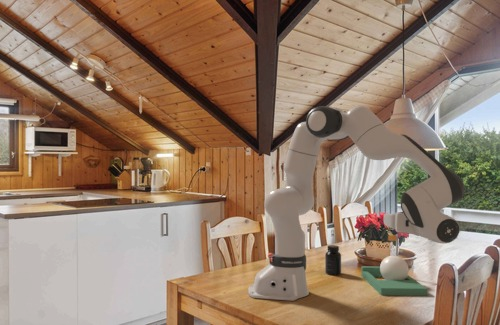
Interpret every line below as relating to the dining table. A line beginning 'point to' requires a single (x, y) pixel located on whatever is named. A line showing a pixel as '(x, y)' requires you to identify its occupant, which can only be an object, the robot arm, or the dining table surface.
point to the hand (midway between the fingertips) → (406, 217)
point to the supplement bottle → (333, 260)
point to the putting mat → (392, 286)
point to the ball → (394, 268)
